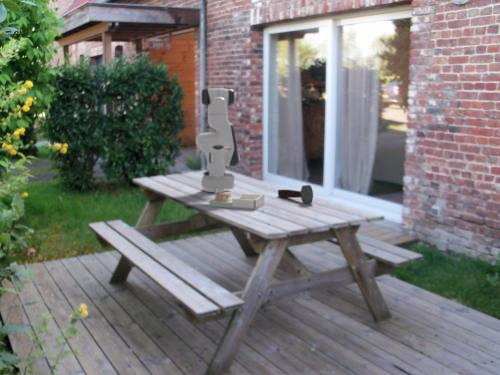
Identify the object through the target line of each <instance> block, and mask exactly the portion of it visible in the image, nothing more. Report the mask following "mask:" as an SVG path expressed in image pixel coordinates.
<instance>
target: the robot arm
mask: <svg viewBox="0 0 500 375" xmlns="http://www.w3.org/2000/svg"><path fill="white" fill-rule="evenodd" d="M199 98H200V99H199V100H200V102H201V105H204V106H206V107H207V124H208V126H209V127H211V128H212V129H215V130H216V131H215V132H214V131H213V132H201V133H198V135H197V136H196V137H195V144H196V146H197V148H199V149H200V150H201V151H202V152H203V153H204V155H205V158H206V171H204V172H202V175H203V176H202V178H201V187H202V191H204V192H207V193H208V192H209V193H214V195H215V196H217V195H220V194H221V193H228V192H230V190H233V189H235V185H236V184H235V175H234V174H233V173H228V172H227V171H226V167H228V166H229V167H236V166H237V165H239V163H240V158H241V157H240V152H239V151H238V150H239V149H238V143H237V138H236V133H235V129H234V126H233V123H231V122H230V120H229V112H228V111H229V110H228V107H229V106H232V105H234V104H235V101H236V94H235V91H234V89H232V88H225V87H224V88H222V87H217V88H216V87H213V88H208V87H207V88H203V89H202V90H201V92H200V95H199Z"/></svg>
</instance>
